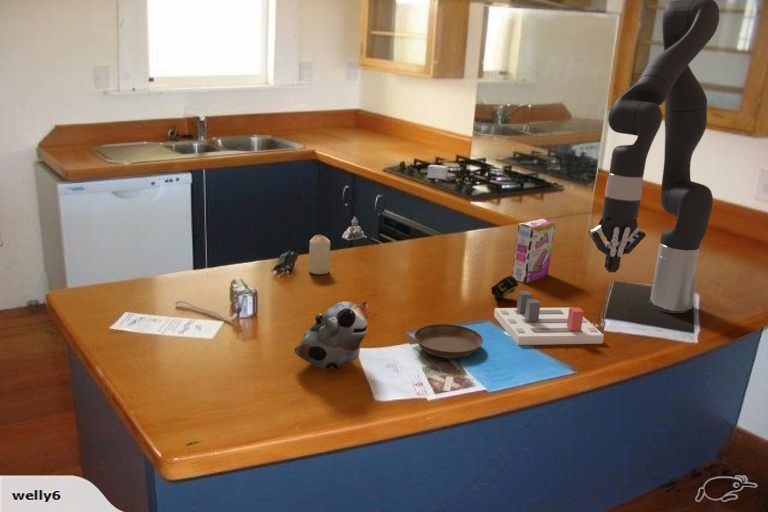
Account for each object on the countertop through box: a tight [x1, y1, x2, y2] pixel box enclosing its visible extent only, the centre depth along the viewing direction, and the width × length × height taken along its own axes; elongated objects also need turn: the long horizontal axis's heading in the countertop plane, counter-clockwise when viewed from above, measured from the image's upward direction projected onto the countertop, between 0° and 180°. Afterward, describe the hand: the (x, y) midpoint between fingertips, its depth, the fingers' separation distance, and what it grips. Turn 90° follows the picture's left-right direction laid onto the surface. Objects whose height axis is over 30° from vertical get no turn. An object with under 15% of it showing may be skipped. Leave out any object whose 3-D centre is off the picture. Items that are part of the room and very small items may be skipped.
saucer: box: [413, 323, 484, 359], centre depth 163 cm, size 15×15×3 cm
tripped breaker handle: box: [567, 307, 584, 330], centre depth 170 cm, size 2×2×4 cm
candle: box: [308, 234, 331, 275], centre depth 205 cm, size 6×6×10 cm
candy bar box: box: [511, 218, 556, 284], centre depth 208 cm, size 11×5×16 cm, turn 135°
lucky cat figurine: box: [294, 300, 370, 371], centre depth 152 cm, size 15×12×14 cm
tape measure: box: [490, 275, 519, 300], centre depth 191 cm, size 7×7×4 cm
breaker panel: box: [493, 290, 605, 346], centre depth 175 cm, size 20×17×7 cm
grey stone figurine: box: [341, 216, 367, 241], centre depth 240 cm, size 9×9×8 cm
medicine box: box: [427, 164, 449, 180], centre depth 324 cm, size 8×4×9 cm, turn 74°
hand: (610, 271), depth 168 cm, fingers closed
